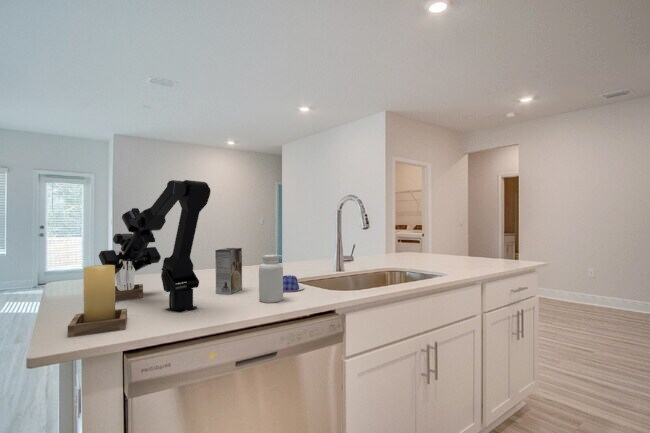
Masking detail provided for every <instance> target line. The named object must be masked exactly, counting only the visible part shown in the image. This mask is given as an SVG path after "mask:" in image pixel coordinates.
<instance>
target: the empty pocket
mask: <svg viewBox="0 0 650 433" xmlns="http://www.w3.org/2000/svg"><path fill="white" fill-rule="evenodd" d="M134 287H135V289H134V290H123V291H116V289H117V285H115V301H123V300H133V299H143V298H144V283H140V284H139V283H137V284H135V283H134Z"/></svg>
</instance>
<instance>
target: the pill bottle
mask: <svg viewBox="0 0 650 433" xmlns="http://www.w3.org/2000/svg"><path fill="white" fill-rule="evenodd" d="M279 257H280V256H279V254H265V255H262V262H263V263H261V264H260V265H259V266H258V300H259V302H261V303H266V304H267V303H268V304H271V303H279V302H281V301H283V300H284V292H283V276H284V271H283V270H284V268H283V267H284V266H283V264H282V263H279V261H280V260H279Z"/></svg>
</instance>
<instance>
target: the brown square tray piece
mask: <svg viewBox="0 0 650 433" xmlns="http://www.w3.org/2000/svg"><path fill="white" fill-rule="evenodd" d="M127 321H128V308H119V309H118V308H117V309H115V319H112V320H104V321H96V322H88V323H84V312H82V313H75V315H74V316H73V318H72V319H71V321H70V322H69V324H68V325H67V338H74V337H80V336H87V335H94V334H102V333H110V332H117V331H124V330H126V327H127V323H128V322H127Z"/></svg>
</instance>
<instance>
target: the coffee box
mask: <svg viewBox="0 0 650 433" xmlns="http://www.w3.org/2000/svg"><path fill="white" fill-rule="evenodd" d="M242 249H243V248H242V247H225V248H220V249H215V294H216V295H233V294H235V293H237V292H239V291H241V290H242V289H243V259H242V258H243V255H242V253H243V250H242Z"/></svg>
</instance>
